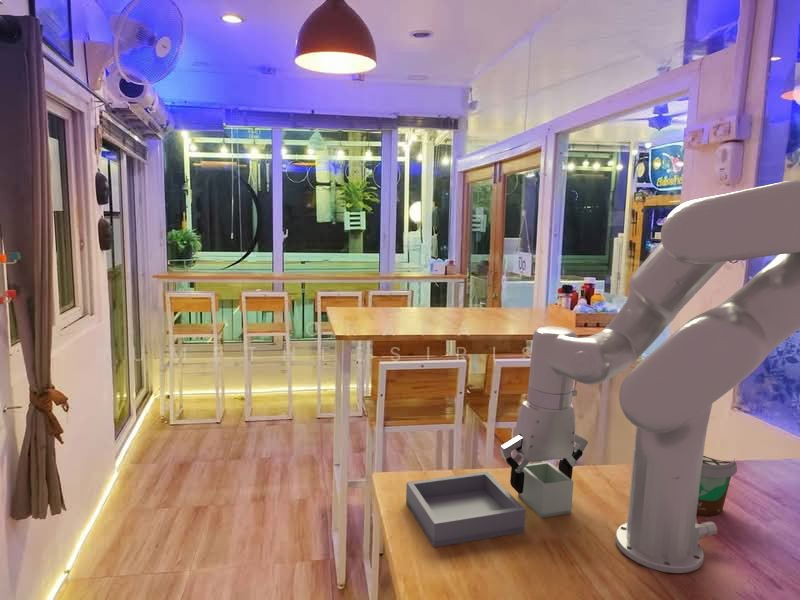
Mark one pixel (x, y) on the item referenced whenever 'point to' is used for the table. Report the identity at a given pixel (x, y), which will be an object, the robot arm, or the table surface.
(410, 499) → the big crate
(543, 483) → the small crate
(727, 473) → the food container
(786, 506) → the table surface
